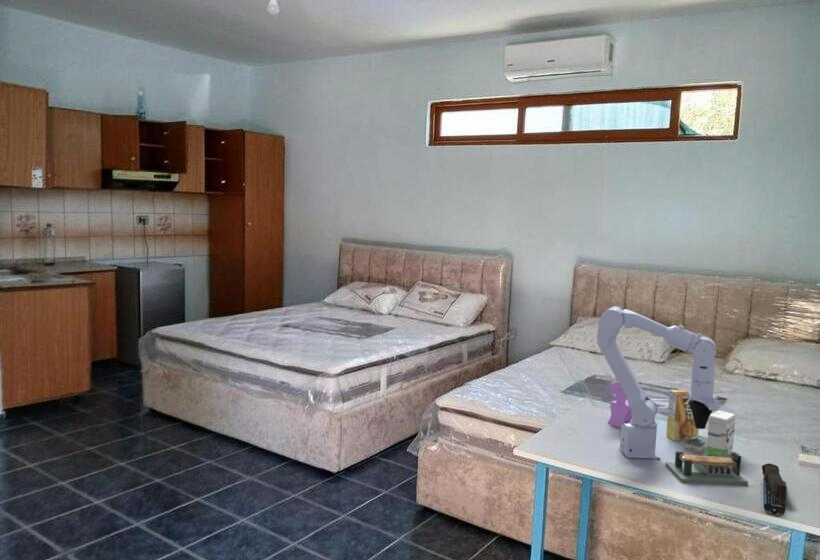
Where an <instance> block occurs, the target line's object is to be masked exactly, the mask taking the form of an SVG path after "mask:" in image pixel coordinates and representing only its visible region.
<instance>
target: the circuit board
mask: <svg viewBox="0 0 820 560" xmlns="http://www.w3.org/2000/svg"><path fill="white" fill-rule="evenodd" d="M664 467H666V468H667V469H668V470H669V471H670V472H671V473H672V475H674V476H675V477H676V478H677V480H678V481H679V482H681V484H683V483H684V484H706V485H707V484H708V485H710V484H711V485H732V486H733V485H734V486H749V481H748V480H747V479H746V478H745V477H744V476H742V475H741V474H740V475H736V474H735V473H734V472H733V473H732V474H733V478H724V477H705V476H704V475H703V474H702V473H701V472H700V471H699V470H698V469H697V468H695V467H694V464H692V471H691V476H685V475H684V474H683V473H684V463H682V467H676V466H675V462H667V461H666V462H665V463H664ZM729 467H730V468H731V466H729Z"/></svg>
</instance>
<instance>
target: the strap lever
mask: <svg viewBox="0 0 820 560" xmlns="http://www.w3.org/2000/svg"><path fill="white" fill-rule="evenodd" d="M678 458H679V459H680V460H681V461H682V462H683V463H684V459H691V460H692V464H696V465H714V466H729V467H736V462H734V461H733V460H732V458H731V457H729V456H726V457H716V456H712V455H696V454H694V455H693V454H683V455H682V454H679V455H678Z"/></svg>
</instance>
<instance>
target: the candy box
mask: <svg viewBox="0 0 820 560" xmlns="http://www.w3.org/2000/svg"><path fill="white" fill-rule="evenodd" d="M687 389H688V388H686V389H685V388H684V389H670V390H669V394H668V395H669V396H668V407H667V408H668V410H667V411H668V412H667V422H666V423H667V424H666V433H665V435H666V437H667V438H669V439H670V440H673V441H683V440H684V441H685V440H693V439H692V438H694V437H697V436H698V437H699V430H700V429H697V428H696V427H695V423H694V418H693V413H692V410H691V408H690V406H689V404H688V402H689V401H694V400H693V399H691V398H690V396H687Z"/></svg>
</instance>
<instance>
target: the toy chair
mask: <svg viewBox="0 0 820 560" xmlns="http://www.w3.org/2000/svg"><path fill="white" fill-rule="evenodd" d="M609 387H610V390H611V391H612V392H613V393H614V394H615V400H611V401H610V407H609V408H610V418H609V419H608V422H607V424H606V425H609V424H610V425H609V426H612V425H613V427H616V426H617V427H616V428H619V427H620V429H621V427H622V424H624V423H625V422H627V421H628V422H627V423H630V422H631V419H632V416H631V409H630V407H629V405H628V401H627V397H626V395H625V393H624V391H623V390H622V388H621V386H620V384H619V382H618V381H617V380H615V381H613V382H611V383H610V385H609Z"/></svg>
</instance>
